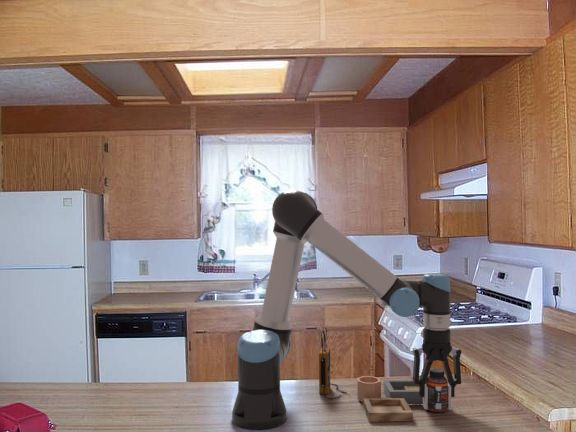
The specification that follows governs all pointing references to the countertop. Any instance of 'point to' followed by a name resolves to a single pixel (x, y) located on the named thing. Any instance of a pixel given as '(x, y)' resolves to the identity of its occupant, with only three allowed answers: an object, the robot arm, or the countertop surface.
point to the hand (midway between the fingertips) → (436, 407)
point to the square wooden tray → (387, 409)
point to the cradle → (402, 391)
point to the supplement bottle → (437, 390)
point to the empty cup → (368, 387)
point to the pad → (411, 388)
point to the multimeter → (325, 369)
